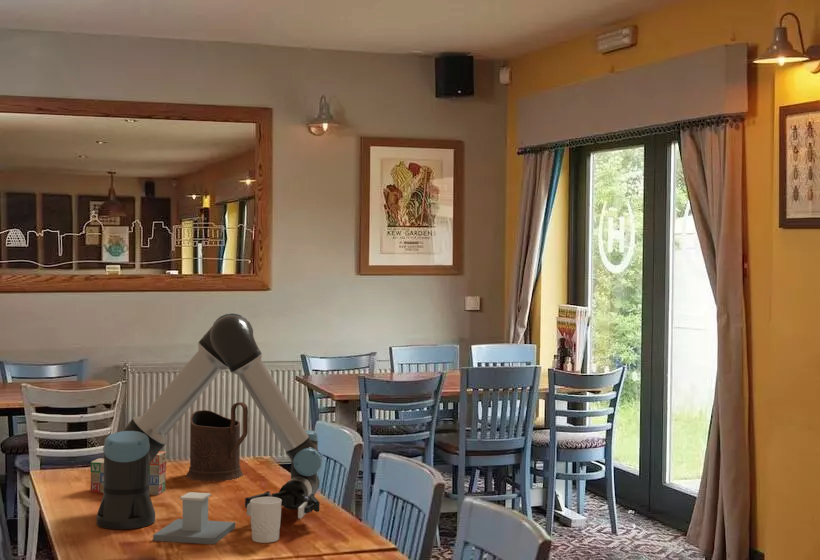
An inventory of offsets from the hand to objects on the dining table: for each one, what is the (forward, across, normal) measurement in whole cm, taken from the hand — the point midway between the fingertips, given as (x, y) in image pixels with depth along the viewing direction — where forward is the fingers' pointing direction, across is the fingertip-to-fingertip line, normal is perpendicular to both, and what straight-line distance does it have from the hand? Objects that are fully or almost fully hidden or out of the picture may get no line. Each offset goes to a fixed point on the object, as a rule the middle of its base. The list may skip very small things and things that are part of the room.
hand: (273, 511), depth 265 cm
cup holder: (-64, +36, -6) cm, 73 cm away
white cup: (+5, +1, -6) cm, 8 cm away
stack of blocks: (-38, +56, -6) cm, 68 cm away
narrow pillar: (+4, +20, -6) cm, 21 cm away
